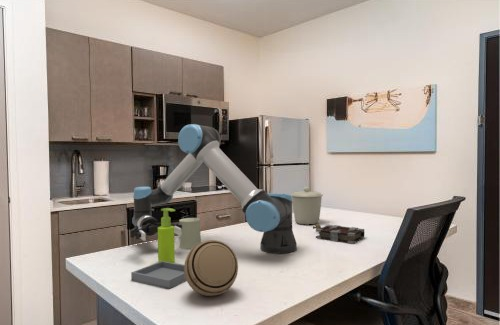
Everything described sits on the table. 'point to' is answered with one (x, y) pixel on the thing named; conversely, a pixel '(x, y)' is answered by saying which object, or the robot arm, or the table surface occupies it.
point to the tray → (160, 274)
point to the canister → (306, 206)
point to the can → (190, 232)
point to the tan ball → (211, 268)
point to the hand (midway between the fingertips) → (163, 234)
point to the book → (339, 233)
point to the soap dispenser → (166, 238)
